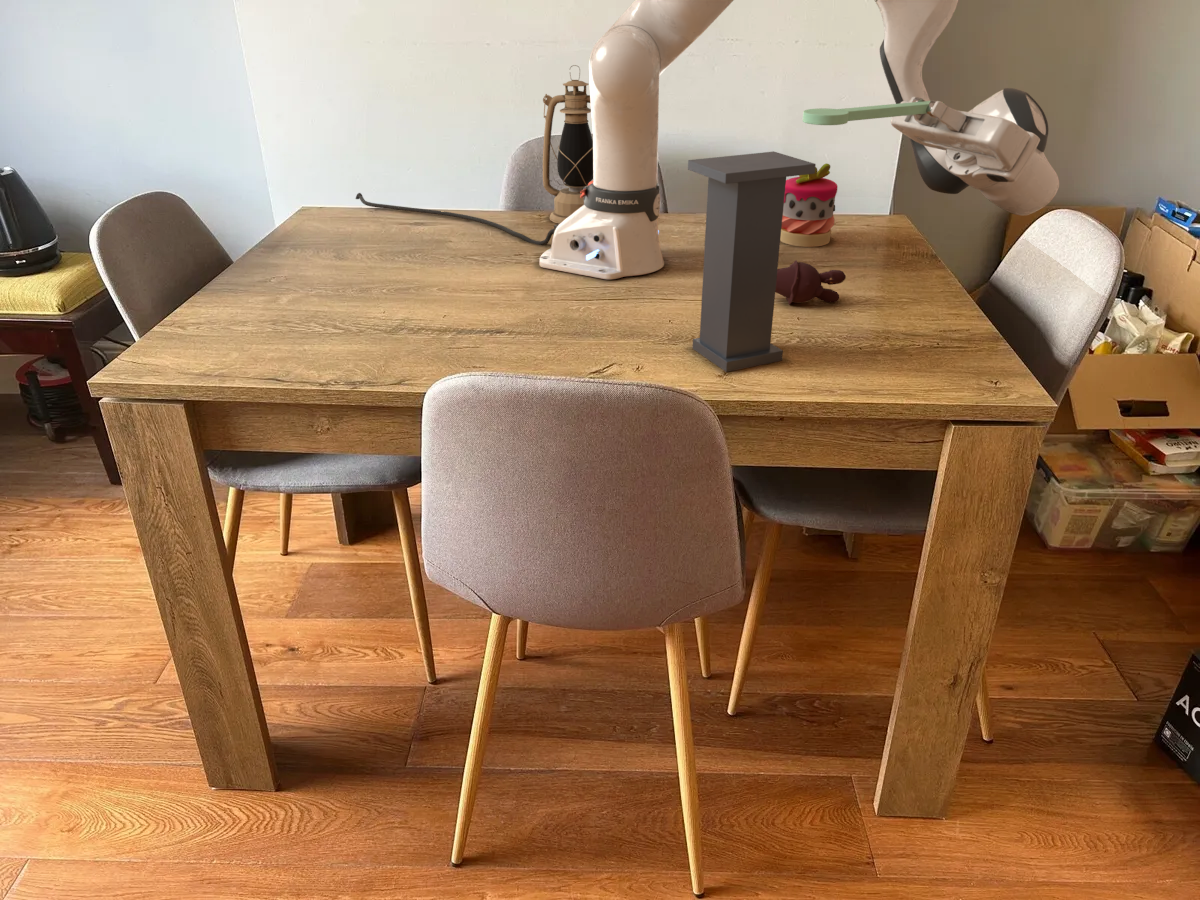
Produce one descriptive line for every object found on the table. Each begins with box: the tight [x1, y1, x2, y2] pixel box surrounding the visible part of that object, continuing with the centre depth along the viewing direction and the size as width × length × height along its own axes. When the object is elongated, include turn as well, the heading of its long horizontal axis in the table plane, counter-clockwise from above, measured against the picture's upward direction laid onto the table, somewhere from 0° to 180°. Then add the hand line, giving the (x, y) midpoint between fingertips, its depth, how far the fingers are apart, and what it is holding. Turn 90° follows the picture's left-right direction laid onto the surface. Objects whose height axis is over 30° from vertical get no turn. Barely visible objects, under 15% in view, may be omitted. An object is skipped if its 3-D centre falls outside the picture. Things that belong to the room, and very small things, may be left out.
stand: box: [687, 150, 817, 373], centre depth 116 cm, size 13×9×26 cm
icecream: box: [775, 259, 847, 305], centre depth 140 cm, size 7×7×15 cm
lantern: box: [542, 64, 593, 224], centre depth 181 cm, size 14×12×30 cm
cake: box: [780, 162, 839, 248], centre depth 169 cm, size 10×11×15 cm
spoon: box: [802, 100, 945, 126], centre depth 114 cm, size 21×6×1 cm, turn 115°
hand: (922, 104), depth 117 cm, fingers closed on spoon, 2 cm apart
